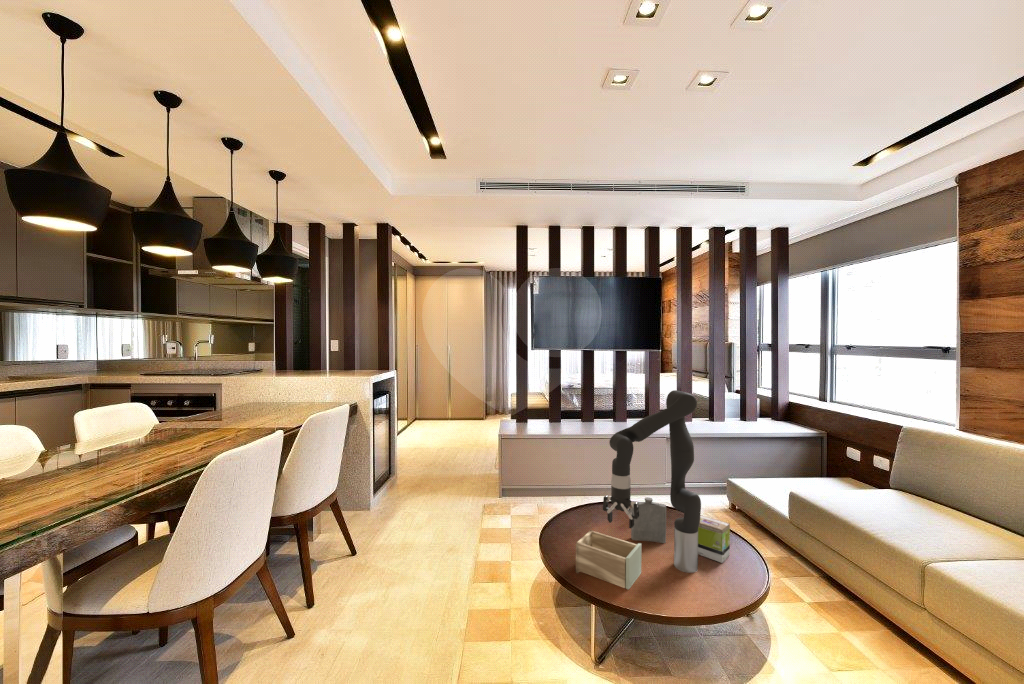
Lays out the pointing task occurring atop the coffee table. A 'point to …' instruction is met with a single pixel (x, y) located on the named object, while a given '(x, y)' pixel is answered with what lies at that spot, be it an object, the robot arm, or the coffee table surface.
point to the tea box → (713, 539)
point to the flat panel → (633, 565)
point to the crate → (603, 557)
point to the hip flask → (650, 522)
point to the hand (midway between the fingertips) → (620, 524)
